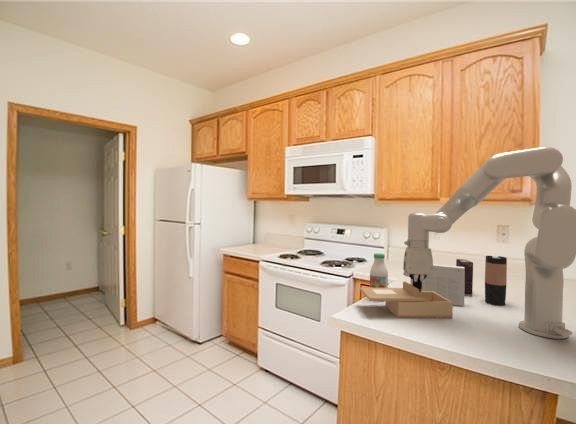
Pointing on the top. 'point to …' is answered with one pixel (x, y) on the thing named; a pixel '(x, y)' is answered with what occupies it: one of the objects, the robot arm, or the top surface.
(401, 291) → the lid
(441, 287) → the skincare box
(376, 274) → the milk bottle
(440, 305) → the mailer box
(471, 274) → the supplement box
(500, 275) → the travel mug
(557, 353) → the top surface
